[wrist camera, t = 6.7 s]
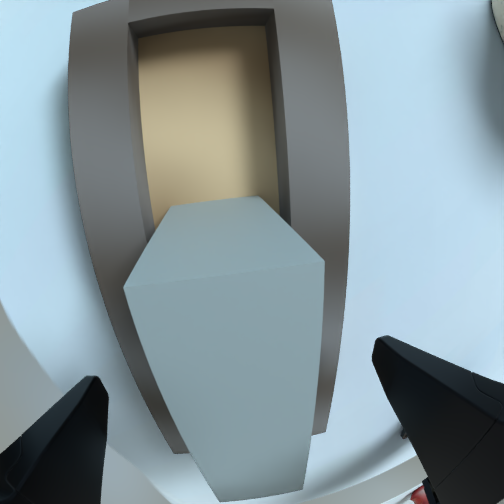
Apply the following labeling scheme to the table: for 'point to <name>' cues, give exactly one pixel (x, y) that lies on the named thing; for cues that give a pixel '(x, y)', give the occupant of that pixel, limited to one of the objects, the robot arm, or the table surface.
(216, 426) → the light blue block
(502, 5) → the teacup with lid
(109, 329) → the table surface
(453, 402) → the robot arm
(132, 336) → the grey and beige frame
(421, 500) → the liquor
